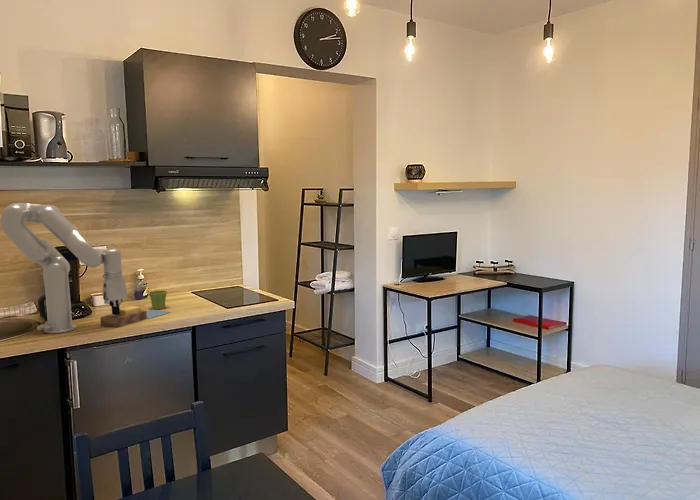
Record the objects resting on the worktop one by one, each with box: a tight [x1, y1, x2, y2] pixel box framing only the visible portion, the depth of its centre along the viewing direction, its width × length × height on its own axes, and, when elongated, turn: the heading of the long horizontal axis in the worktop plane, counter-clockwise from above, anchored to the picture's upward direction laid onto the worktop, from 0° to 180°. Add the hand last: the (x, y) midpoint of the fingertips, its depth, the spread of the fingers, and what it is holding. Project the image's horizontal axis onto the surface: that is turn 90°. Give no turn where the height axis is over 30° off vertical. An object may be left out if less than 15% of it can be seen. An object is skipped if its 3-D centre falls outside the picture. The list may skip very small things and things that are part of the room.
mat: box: [146, 309, 171, 320], centre depth 265 cm, size 14×12×1 cm
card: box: [120, 305, 142, 315], centre depth 252 cm, size 9×6×2 cm, turn 154°
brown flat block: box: [99, 309, 148, 329], centre depth 250 cm, size 18×10×4 cm, turn 154°
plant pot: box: [147, 289, 168, 310], centre depth 277 cm, size 9×9×9 cm
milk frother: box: [37, 294, 47, 319], centre depth 251 cm, size 14×16×15 cm
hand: (116, 314), depth 245 cm, fingers closed
